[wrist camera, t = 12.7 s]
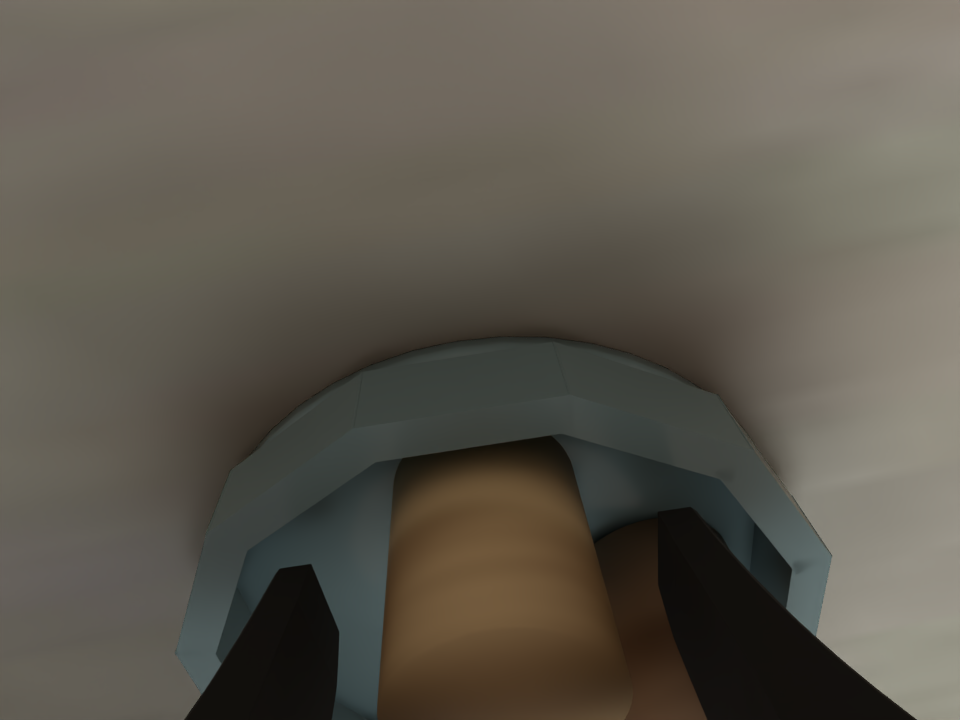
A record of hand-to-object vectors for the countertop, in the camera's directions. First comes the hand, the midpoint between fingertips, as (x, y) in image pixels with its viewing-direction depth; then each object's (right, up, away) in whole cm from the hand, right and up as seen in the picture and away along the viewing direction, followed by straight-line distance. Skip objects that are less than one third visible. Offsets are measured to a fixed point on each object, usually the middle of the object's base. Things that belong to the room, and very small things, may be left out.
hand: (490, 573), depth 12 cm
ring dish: (0, -1, +4) cm, 5 cm away
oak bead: (0, +1, +2) cm, 2 cm away
